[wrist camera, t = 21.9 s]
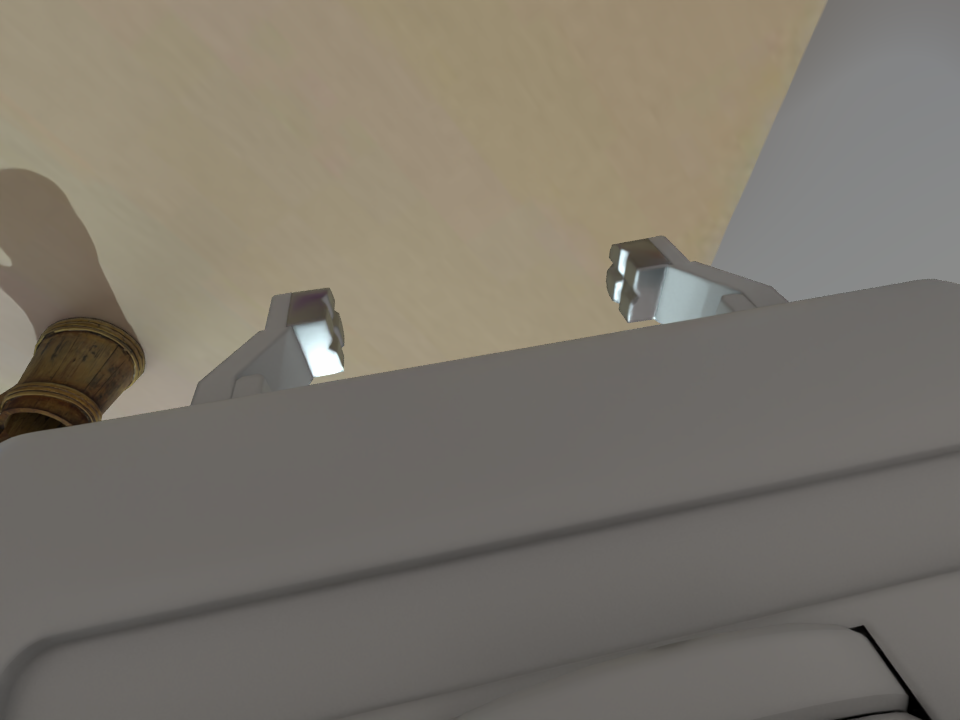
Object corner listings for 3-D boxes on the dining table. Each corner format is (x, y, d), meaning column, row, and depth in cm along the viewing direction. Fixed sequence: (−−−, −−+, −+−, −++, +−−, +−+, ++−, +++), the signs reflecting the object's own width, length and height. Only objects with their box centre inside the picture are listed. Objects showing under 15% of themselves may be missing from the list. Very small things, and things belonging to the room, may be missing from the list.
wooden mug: (-31, 320, 46) (-206, 470, 32) (127, 315, 48) (27, 453, 34) (18, 390, 52) (-113, 544, 38) (157, 383, 54) (82, 525, 40)
